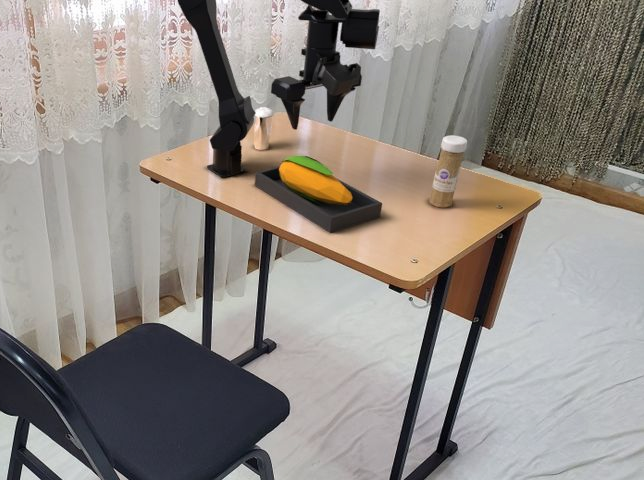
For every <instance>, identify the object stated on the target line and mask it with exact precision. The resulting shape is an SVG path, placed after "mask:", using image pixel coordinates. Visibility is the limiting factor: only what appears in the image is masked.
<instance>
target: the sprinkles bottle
mask: <svg viewBox="0 0 644 480" xmlns="http://www.w3.org/2000/svg"><path fill="white" fill-rule="evenodd" d="M467 146H468V140H467V138H465V137H463V136H460V135H446V136H444V137H443V138H442V141H441V144H440V152H439V153H440V154H439V157H438V161H437V166H436V171H435V172H434V178H433V181H432V188H431V192H430V196H429V199H428V202H429V204H430V205H432V206H434V207H436V208H448V207H451V206H453V199H454V194H455V191H456V187H457V184H458V181H459V180H458V179H459V175H460V172H461V167H462V163H463V158H464V155H465V151H466V150H467Z"/></svg>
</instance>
